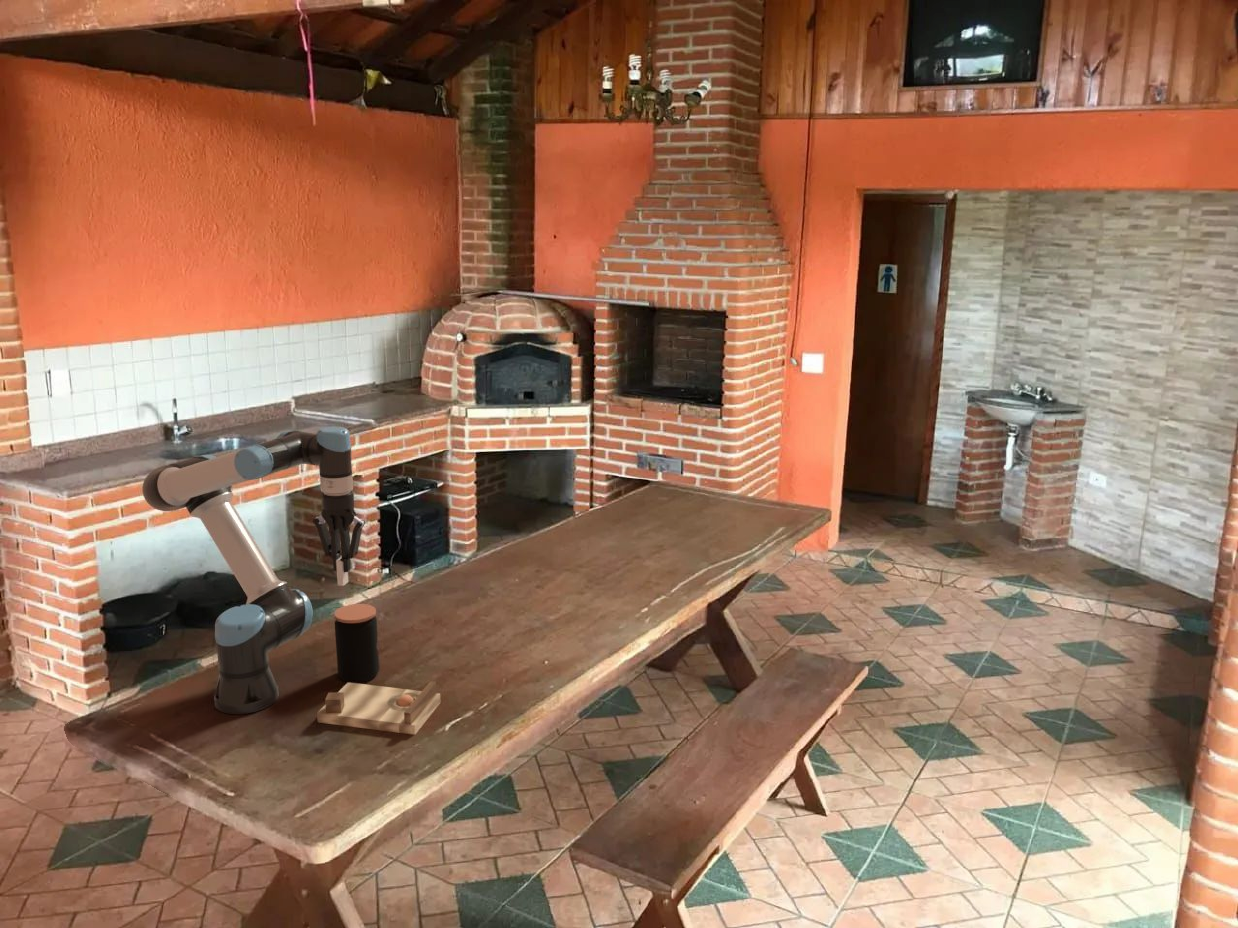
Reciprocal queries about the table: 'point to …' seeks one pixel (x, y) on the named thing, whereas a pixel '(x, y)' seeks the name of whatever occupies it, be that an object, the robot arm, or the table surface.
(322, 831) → the table surface
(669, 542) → the table surface
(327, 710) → the walnut cube
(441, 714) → the table surface
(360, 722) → the board
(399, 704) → the ball
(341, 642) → the coffee jar
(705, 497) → the table surface
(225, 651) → the robot arm
